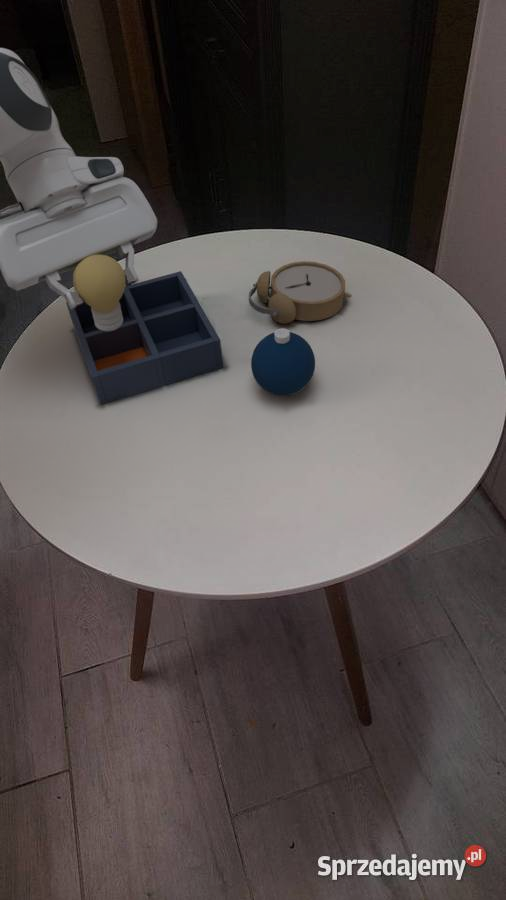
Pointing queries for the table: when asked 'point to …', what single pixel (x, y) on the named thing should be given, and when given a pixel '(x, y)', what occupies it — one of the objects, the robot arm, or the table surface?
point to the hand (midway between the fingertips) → (105, 294)
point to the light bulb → (101, 289)
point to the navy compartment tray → (148, 339)
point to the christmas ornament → (283, 363)
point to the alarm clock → (300, 292)
